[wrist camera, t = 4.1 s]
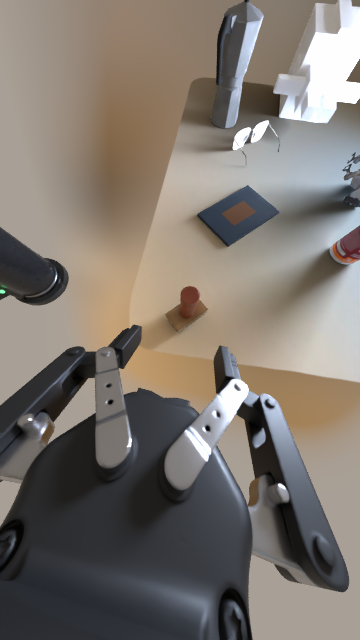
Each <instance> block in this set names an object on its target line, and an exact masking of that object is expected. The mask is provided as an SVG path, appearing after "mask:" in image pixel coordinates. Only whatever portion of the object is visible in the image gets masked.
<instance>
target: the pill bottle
mask: <svg viewBox="0 0 360 640" xmlns="http://www.w3.org/2000/svg"><path fill="white" fill-rule="evenodd" d="M330 254H331V256H332V258H333V259H334V260H335V261H337V262H339V263H341V264H351V263H354V262H356V261H358V260H360V226H359V227H357V228H356V229H354V230H353V231H351V232H350V233H349V234H347V235H346V236H344V237H343V238H342V239H340V240H339V241H337V242H336V243H335V244H333V245H332V246H331V248H330Z"/></svg>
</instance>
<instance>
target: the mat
mask: <svg viewBox="0 0 360 640" xmlns="http://www.w3.org/2000/svg"><path fill="white" fill-rule="evenodd" d="M278 213H279V211H278V210H277V209H276V208H274V207H273V206H272V205H271V204H270V203H268V202H267V201H266V200H265V199H264V198H262V197H261V196H260V195H259V194H258V193H256V192H255V191H254V190H253V189H252V188H250V187H249V186H248V185H247V186H246V187H244V188H242V189H240V190H239V191H237V192H235V193H233V194H232V195H230V196H228V197H226V198H225V199H223V200H221V201H219V202H218V203H216V204H214V205H212V206H211V207H209V208H207V209H205V210H204V211H202V212H200V213H198V215H197V216H198V217H199V218H200V219H201V220H202V221H203V222H204V223H205V224H206V225H207V226H208V227H209V228H210V229H211V230H212V231H213V232H214V233H215V234H216V235H217V236H218V237H219V238H220V239H221V240H222V241H223V242H224V243H225V244H226V245H227V246H230V245H231V244H233V243H234V242H236V241H237V240H239V239H240V238H242V237H244V236H245V235H247V234H248V233H250V232H251V231H253V230H254V229H256V228H257V227H259V226H260V225H262V224H263V223H265V222H267V221H268V220H270V219H271V218H273V217H274V216H276V215H277V214H278Z"/></svg>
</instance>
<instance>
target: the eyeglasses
mask: <svg viewBox="0 0 360 640" xmlns="http://www.w3.org/2000/svg"><path fill="white" fill-rule="evenodd" d="M268 125H269V126H270V127H271V125H270V124H269V121H263V122H261V123H259V124H258V125H257V126H256V127H255V128H254V129H252V130H254V131H253V134H252V138H251V142H256V141H258V140H259V139H260V138H261V137H262V135H263V134H264V132H265V130H266V128H267V126H268ZM271 129H272V127H271ZM252 130H251V129H250V128H245V129H243V130H241V131H239V132H238V133H237V134H236V136H235V137H234V138H233V139H234V143H233V150H236V149H238V148H240V147H242V146H243V145H244V143H245V141H246V140H248V139H249V137H250V135H249V133H250V131H252ZM272 130H273V129H272ZM273 132H274V130H273ZM274 133H275V132H274ZM275 135H276V133H275ZM276 136H277V135H276ZM247 138H248V139H247ZM277 138H278V136H277ZM278 140H279V142H280V139H279V138H278ZM279 147H280V144H279ZM240 149H241V148H240ZM241 151H242V149H241ZM242 152H243V151H242ZM278 152H279V149H278ZM243 154H244V152H243ZM244 155H245V154H244ZM245 157H246V155H245Z"/></svg>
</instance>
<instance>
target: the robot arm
mask: <svg viewBox="0 0 360 640" xmlns="http://www.w3.org/2000/svg"><path fill="white" fill-rule="evenodd" d="M58 279H59V272H58V270H57V268H56V267H55V266H54V265H52V264H51V263H50V262H48V261H46V260H45V259H43V257H41V256H40V255H39V254H37V253H35V252H34V251H32V250H31V249H30V248H28V247H27V246H25V245H24V244H23V243H21V242H20V241H18V240H17V239H16V238H15V237H13V236H12V235H10V234H9V233H8V232H6V231H5V230H3V229H2V228H1V227H0V300H1V299H3V298H5V297H7V296H9V295H12V296H14V297H17V298H20V299H23V300H25V299H27V298H38V297H42V296H44V295H46V294H48V293H49V292H50V291H52V290H53V289H54V287H55V286H56V284H57V282H58ZM141 333H142V327H141V326H138V325H133V326H132V327H131V328H130V329H129V328H127V329H125V330H123V331H122V332H121V333H120V334H119V335H118V336H117V337H116V338H115V339H114V340H113V342H112V343H111V344H110V345H109V346H108V347H103V348H101V349H99V350H98V351H97V352H85V349H84V348H83V347H79V346H78V347H72V348H69V349H67V350H66V351H65V352H64V353H62V354H61V355H60V356H59V357H58V358H56V359H55V360H54V361H53V362H52V363H50V364H49V365H48V366H47V367H46V368H44V369H43V370H42V371H41V372H40V373H38V374H37V375H36V376H35V377H34V378H33V379H31V380H30V381H29V382H28V383H27V384H25V385H24V386H23V387H22V388H21V389H19V390H18V391H17V392H16V393H15V394H14V395H12V396H11V397H10V398H9V399H7V400H6V401H5V402H4V403H3V404H2V405H0V482H1V481H3V480H5V481H10V482H15V483H21V486H20V489H19V492H18V494H17V496H16V499H15V501H14V503H13V505H12V507H11V509H10V511H9V513H8V515H7V516H6V518H5V520H4V522H3V523H2V525H1V526H0V640H253V639H252V632H251V625H250V618H249V604H248V583H249V567H250V560H251V554H252V555H255V556H257V557H259V558H262V559H264V560H266V561H269V562H271V563H273V564H274V565H275V567H276V568H277V570H278V571H279V572H280V574H281V575H282V576H283V577H284V578H286V579H287V580H289V581H292V582H297V583H301V584H306V585H311V586H315V587H320V588H324V589H329V590H334V591H338V592H345V591H346V590H347V589H348V586H349V576H348V571H347V568H346V564H345V561H344V559H343V556H342V554H341V552H340V550H339V547H338V544H337V542H336V540H335V537H334V535H333V532H332V530H331V528H330V525H329V523H328V520H327V518H326V516H325V513H324V511H323V508H322V506H321V504H320V501H319V499H318V496H317V494H316V492H315V489H314V487H313V484H312V482H311V480H310V477H309V475H308V472H307V470H306V468H305V465H304V463H303V460H302V458H301V456H300V453H299V451H298V448H297V446H296V444H295V441H294V439H293V436H292V434H291V432H290V429H289V427H288V424H287V422H286V419H285V417H284V415H283V412H282V410H281V407H280V405H279V404H278V402H277V401H276V400H275V399H274V398H273V397H271V396H270V395H268V394H261V395H260V396H258V395H256V394H254V393H253V392H251V391H249V390H248V388H247V386H246V384H245V383H244V382H243V381H241V377H240V373H239V370H238V367H237V362H236V359H235V357H234V356H233V354H231V353H229V350H228V347H224V346H219V348H218V350H217V352H216V355H215V357H214V371H215V384H216V393H217V395H216V397H215V398H214V399H213V400H212V401H211V402H210V404H209V405H208V406H207V407H206V408H205V409H204V410H203V412H202V413H201V414H199V413H198V412H197V411H196V410H195V409H194V408H192V407H191V406H190V401H187V400H183V399H179V398H163V397H161V396H159V395H157V394H155V393H154V392H152V391H149V390H145V389H141V388H139V389H138V391H137V392H131V393H128V394H125V395H123V390H122V384H121V379H120V373H119V368H121V369H124V367H125V365H126V364H127V362H128V361H129V359H130V358H131V356H132V355H133V353H134V352H135V350H136V349H137V347H138V346H139V344H140V342H141ZM88 378H95V398H96V413H95V414H93V415H92V416H90V417H88V418H87V419H85V420H84V421H82V422H80V423H79V424H77V425H76V426H74V427H73V428H71V429H70V430H68V431H67V432H65V433H63V434H62V435H60V436H59V437H57V438H56V439H54V440H53V441H52V442H50V443H49V444H48V441H49V439H50V437H51V435H52V433H53V432H54V428H55V426H54V423H53V422H54V421H55V420H56V418H57V417H58V416H59V415H60V413H61V412H62V411H63V410H64V408H65V407H66V406H67V405H68V403H69V402H70V400H71V399H72V398H73V397H74V396H75V394H76V393H77V392H78V391H79V389H80V388H81V386H82V385H83V384H84V383H85V382H86V380H87V379H88ZM235 414H236V415H238V416H240V417H241V418H243V419H244V420H245V425H246V431H247V436H248V441H249V447H250V453H251V458H252V464H253V470H254V474H255V480H253V481H252V482H251V484H250V487H249V495H250V498H249V503H248V506H247V503H246V500H245V498H244V495H243V493H242V491H241V489H240V487H239V486H238V484H237V482H236V480H235V478H234V476H233V475H232V473H231V471H230V469H229V467H228V465H227V463H226V462H225V460H224V458H223V456H222V454H221V452H220V450H219V449H218V447H217V445H216V444H217V443H218V441H219V440H220V438H221V436H222V435H223V433H224V431H225V430H226V428H227V427H228V425H229V423H230V422H231V420H232V419H233V417H234V415H235ZM47 444H48V445H47Z"/></svg>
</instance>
